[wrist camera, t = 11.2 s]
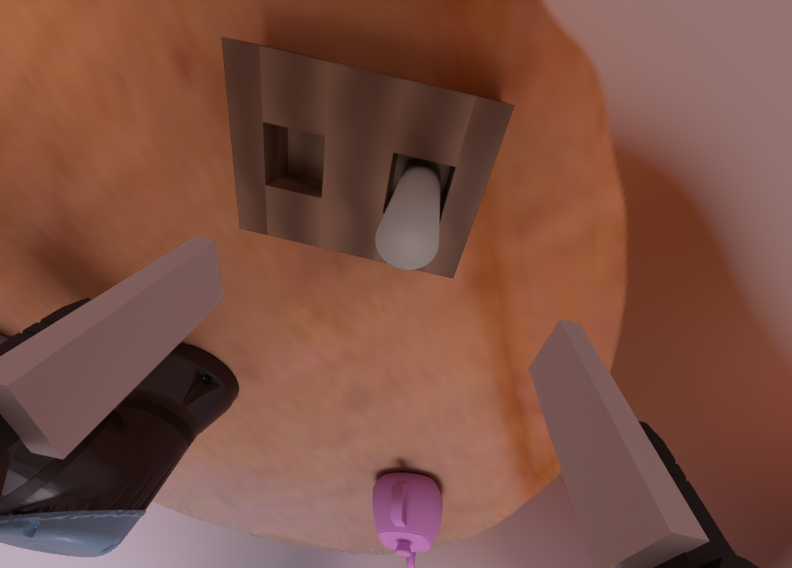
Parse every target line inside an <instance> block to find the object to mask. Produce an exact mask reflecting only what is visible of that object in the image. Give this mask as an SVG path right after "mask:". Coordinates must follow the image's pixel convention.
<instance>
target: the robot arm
mask: <svg viewBox="0 0 792 568" xmlns="http://www.w3.org/2000/svg"><path fill="white" fill-rule="evenodd" d="M222 300H223V294H222V287H221V280H220V273H219V265H218V258H217V251H216V244H215V241H214V240H210V239H205V238H201V237H197V236H194V237H192V238H191V239H189V240H187V241H186V242H184V243H183V244H181V245H179V246H178V247H176V248H175V249H173V250H171V251H170V252H168V253H167V254H165V255H163V256H162V257H160V258H158V259H157V260H155V261H154V262H152V263H150V264H149V265H147V266H146V267H144V268H142V269H141V270H139V271H137V272H136V273H134V274H133V275H131V276H129V277H128V278H126V279H125V280H123V281H121V282H120V283H118V284H116V285H115V286H113V287H112V288H110V289H108V290H107V291H105V292H104V293H102V294H100V295H99V296H97V297H95V298H94V299H88V298H86V299H84V300H81V301H78V302H75V303H73V304H70V305H67V306H64V307H62V308H60V309H58V310H57V311H55V312H53V313H52V314H50V315H48V316H47V317H45V318H43V319H41V322H40V323H38V322H36V323H35V324H33V325H31V326H30V327H28V328H26V329H25V330H23V333H21V334H20V333H18V334H16V335H14V336H13V337H11V338H9V339H8V340H6V341H3V340H0V542H1V543H5V544H8V545H12V546H16V547H20V548H25V549H30V550H35V551H40V552H46V553H52V554H59V555H67V556H77V557H96V556H101V555H104V554H106V553H108V552H110V551H112V550H113V549H115V548H116V547H117V546H118V545H119V544H120V543H121V542H122V541H123V539H124V538H125V537H126V535H127V534H128V533H129V531H130V530H131V529H132V528H133V526H134V525H135V524H136V522H137V521H138V520H139V519H140V517H141V516H143V515H144V514H145V512H146V511H145V510H146V509H147V507H148V506H149V504H150V503H151V502H152V500H153V499H154V497H155V496H156V494H157V493H158V491H159V490H160V488H161V487H162V486H163V484H164V483H165V481H166V480H167V478H168V477H169V475H170V474H171V472H172V471H173V470H174V468H175V467H176V465H177V464H178V462H179V461H180V459H181V458H182V456H183V455H184V453H185V452H186V451H187V449H188V448H189V446H190V445H191V443H192V442H193V441H194V439H195V438H196V437H197V435H199V434H200V433H201V432H202V431H203V430H205V429H206V428H207V427H208V426H209V425H211V424H212V423H213V422H214V421H215V420H217V419H218V418H219V417H220V416H221V415H222V414H224V413H225V412H226V411H227V410H228V409H229V408H230V406H231V405H232V403H233V402H234V400H235V399H236V397H237V395H238V384H237V382H236V379H235V378H234V376H233V375H232V373H231V372H230V371H229V370H228V368H227V367H226V366H224V365H223V364H222V363H221V362H220V361H218V360H217V359H216V358H214V357H213V356H211V355H209V354H208V353H206V352H204V351H201V350H199V349H197V348H194V347H191V346H188V345H183V344H179V343H180V342H181V341H182V340H183V339H184V338H185V337H186V336H187V335H188V334H189V333H190V332H191V331H192V330H193V329H194V328H195V327H196V326H197V325H198V324H199V323H200V322H201V321H202V320H203V319H204V318H205V317H206V316H207V315H208V314H209V313H210V312H211V311H212V310H213V309H214V308H215V307H216V306H217V305H218V304H219V303H220V302H221V301H222ZM529 371H530V374H531V377H532V380H533V383H534V386H535V389H536V393H537V396H538V399H539V402H540V405H541V408H542V411H543V414H544V417H545V421H546V424H547V427H548V430H549V433H550V436H551V439H552V442H553V445H554V449H555V452H556V455H557V458H558V461H559V464H560V467H561V470H562V473H563V477H564V480H565V483H566V486H567V489H568V492H569V495H570V498H571V501H572V505H573V508H574V511H575V514H576V517H577V520H578V523H579V526H580V529H581V532H582V536H583V539H584V542H585V545H586V548H587V551H588V554H589V558H590V560H591V564H592V567H593V568H759V567H757V566H755V565H754V564H753V563H751V562H749V561H748V560H747V559H745V558H742V557H739V556H737V555H736V554H735V552H734V551H733V550H732V549H731V547H730V545H729V544H728V542H727V541H726V539H725V538H724V536H723V534H722V533H721V531H720V530H719V528H718V526H717V525H716V523H715V522H714V520H713V519H712V517H711V515H710V514H709V512H708V511H707V509H706V508H705V506H704V504H703V503H702V501H701V500H700V498H699V497H698V495H697V493H696V492H695V490H694V489H693V487H692V485H691V484H690V482H688V481H686V476H685V475H684V473H683V471H682V470H681V469H680V467H679V465H678V464H676V463H675V459H674V457H673V455H672V454H671V452H670V451H669V449H668V448H667V446H666V444H665V443H664V442H663V440H662V439H661V438H660V437H659V436H658V435H657V434H656V433H655V432H654V431H653V430H652V429H651V428H650V427H649V425H648V424H647V423H645V422H640V421H638V420H637V419H636V417H635V415H634V413H633V412H632V410H631V408H630V407H629V405H628V403H627V402H626V400H625V398H624V397H623V395H622V394H621V392H620V390H619V388H618V387H617V385H616V383H615V382H614V380H613V378H612V377H611V375H610V373H609V372H608V370H607V368H606V367H605V365H604V363H603V361H602V360H601V358H600V356H599V355H598V353H597V351H596V350H595V348H594V346H593V345H592V343H591V341H590V340H589V338H588V336H587V335H586V333H585V331H584V330H583V328H582V326H581V325H580V324H579V323H575V322H571V321H566V320H562V319H560V320H559V321H558V323H557V325H556V326H555V328H554V329H553V331H552V333H551V334H550V336H549V337H548V339H547V340H546V342H545V344H544V345H543V347H542V348H541V350H540V352H539V353H538V355H537V356H536V358H535V359H534V361H533V363H532V364H531V366H530V367H529Z"/></svg>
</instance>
